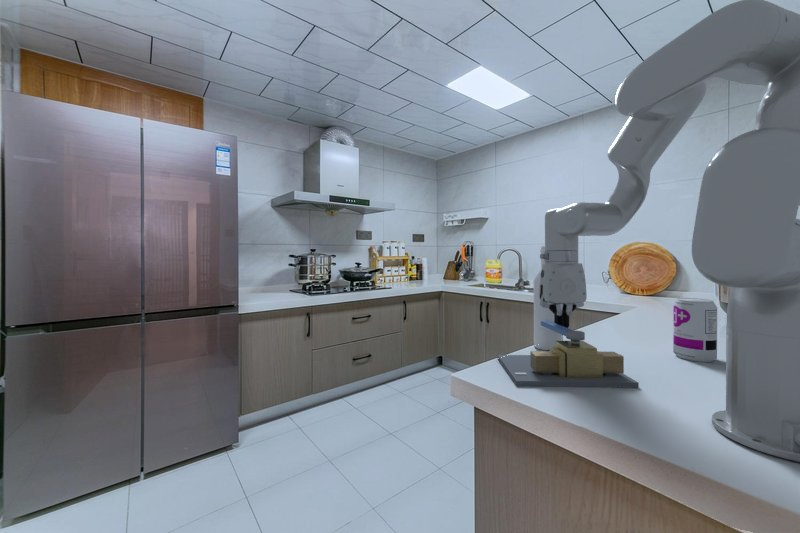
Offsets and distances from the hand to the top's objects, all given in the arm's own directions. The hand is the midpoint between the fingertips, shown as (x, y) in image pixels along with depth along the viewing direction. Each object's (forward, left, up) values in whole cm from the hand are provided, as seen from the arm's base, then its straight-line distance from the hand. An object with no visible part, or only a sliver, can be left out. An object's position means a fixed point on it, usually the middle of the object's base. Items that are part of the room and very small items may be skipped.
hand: (561, 330), depth 81 cm
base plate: (-7, +4, -8) cm, 11 cm away
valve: (-11, +2, -8) cm, 14 cm away
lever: (-5, +2, +1) cm, 6 cm away
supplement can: (+4, -34, -8) cm, 36 cm away
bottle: (+13, -1, -8) cm, 15 cm away
